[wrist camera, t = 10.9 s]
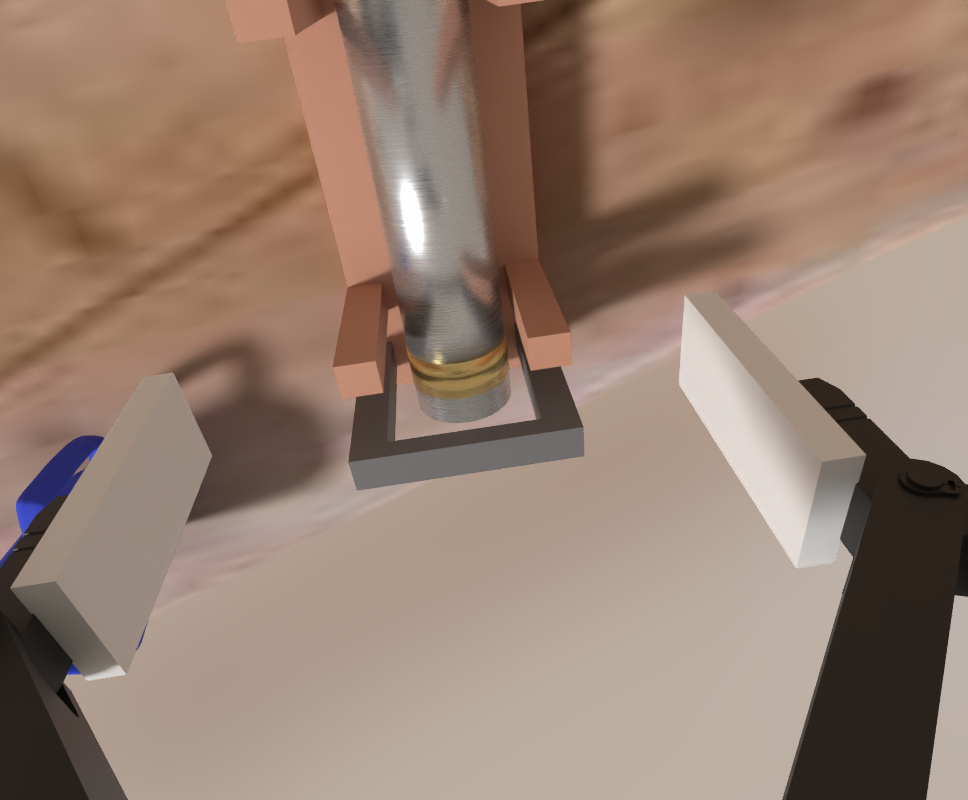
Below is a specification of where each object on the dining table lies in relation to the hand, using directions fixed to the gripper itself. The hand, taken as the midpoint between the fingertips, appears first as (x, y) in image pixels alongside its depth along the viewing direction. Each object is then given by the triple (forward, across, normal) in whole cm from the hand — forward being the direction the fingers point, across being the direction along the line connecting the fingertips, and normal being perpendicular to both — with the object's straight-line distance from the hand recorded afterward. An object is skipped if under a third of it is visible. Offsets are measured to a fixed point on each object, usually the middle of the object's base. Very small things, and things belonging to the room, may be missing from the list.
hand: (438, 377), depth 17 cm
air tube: (+17, -1, 0) cm, 17 cm away
